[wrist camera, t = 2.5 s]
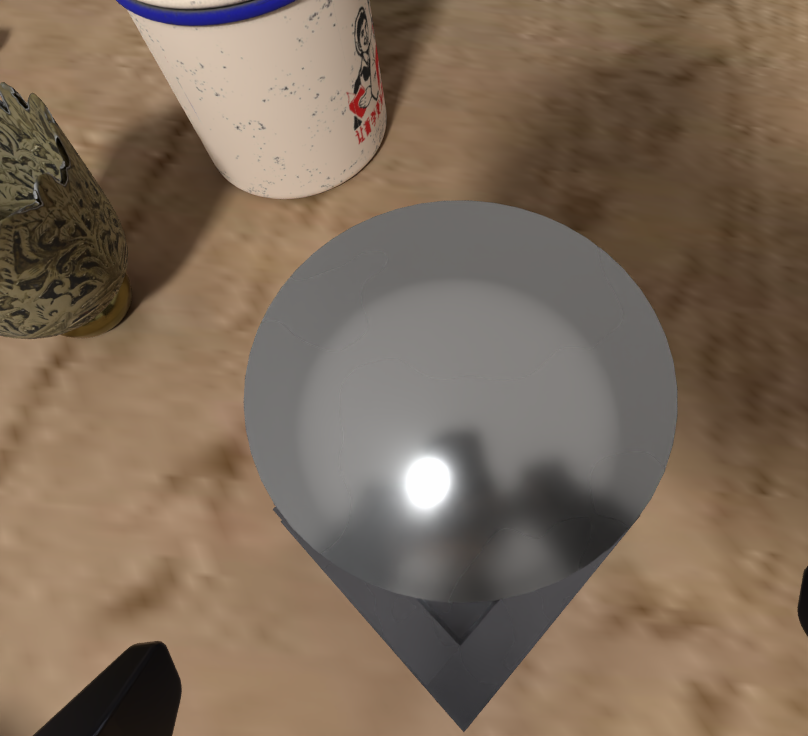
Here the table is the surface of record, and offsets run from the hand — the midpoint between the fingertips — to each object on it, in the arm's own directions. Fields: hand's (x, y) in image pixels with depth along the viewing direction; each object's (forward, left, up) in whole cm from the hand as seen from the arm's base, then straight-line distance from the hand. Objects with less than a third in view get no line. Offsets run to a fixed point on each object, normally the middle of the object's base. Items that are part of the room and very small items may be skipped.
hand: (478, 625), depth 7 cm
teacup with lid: (+21, -11, -10) cm, 26 cm away
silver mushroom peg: (+2, -2, -9) cm, 9 cm away
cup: (+19, +2, -10) cm, 22 cm away
